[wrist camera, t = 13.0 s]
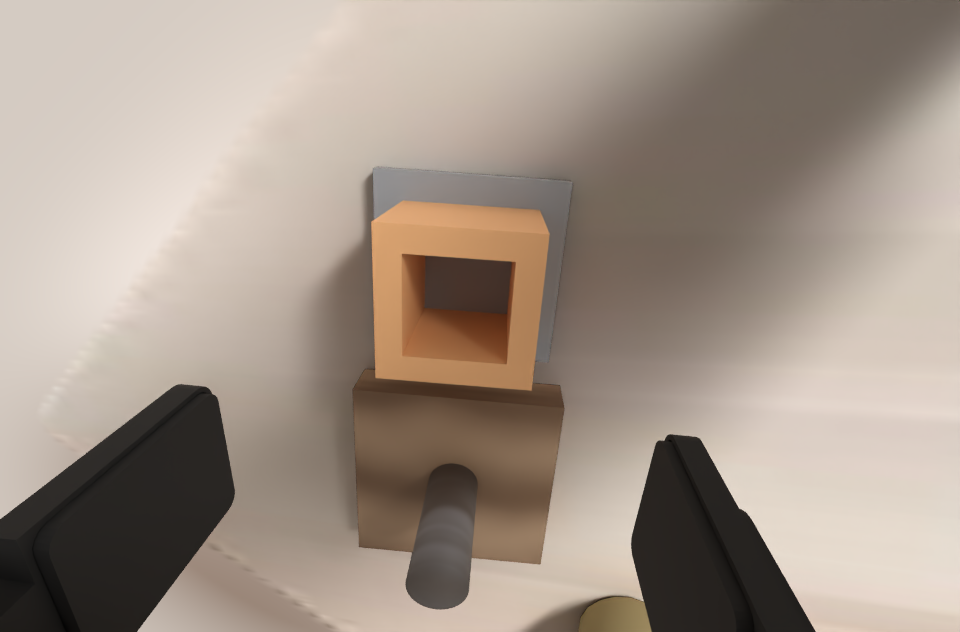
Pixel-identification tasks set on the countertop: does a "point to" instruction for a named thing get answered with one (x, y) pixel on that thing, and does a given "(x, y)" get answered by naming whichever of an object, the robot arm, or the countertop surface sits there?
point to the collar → (451, 333)
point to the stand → (453, 476)
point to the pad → (481, 279)
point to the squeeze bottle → (615, 616)
